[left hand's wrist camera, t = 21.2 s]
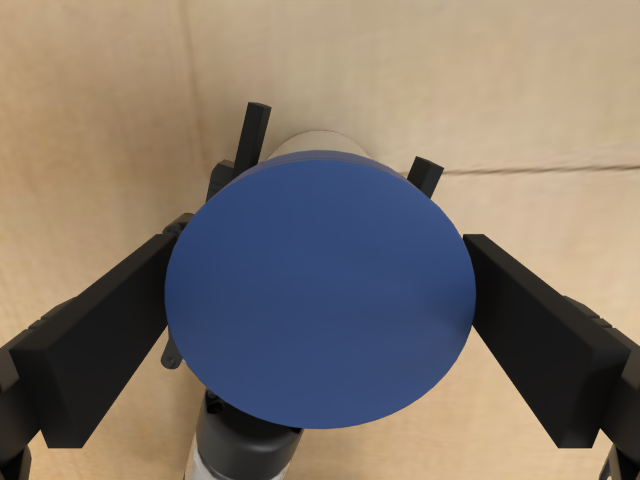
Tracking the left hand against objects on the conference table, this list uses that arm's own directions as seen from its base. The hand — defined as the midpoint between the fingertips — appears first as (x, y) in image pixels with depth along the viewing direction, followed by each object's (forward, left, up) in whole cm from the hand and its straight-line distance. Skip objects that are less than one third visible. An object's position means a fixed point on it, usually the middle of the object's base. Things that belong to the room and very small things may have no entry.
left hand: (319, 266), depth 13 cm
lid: (0, 0, +3) cm, 3 cm away
